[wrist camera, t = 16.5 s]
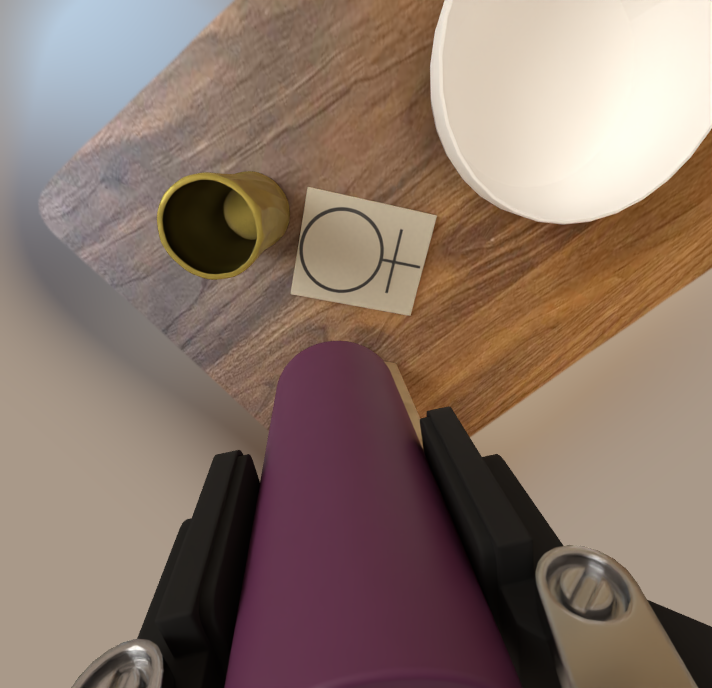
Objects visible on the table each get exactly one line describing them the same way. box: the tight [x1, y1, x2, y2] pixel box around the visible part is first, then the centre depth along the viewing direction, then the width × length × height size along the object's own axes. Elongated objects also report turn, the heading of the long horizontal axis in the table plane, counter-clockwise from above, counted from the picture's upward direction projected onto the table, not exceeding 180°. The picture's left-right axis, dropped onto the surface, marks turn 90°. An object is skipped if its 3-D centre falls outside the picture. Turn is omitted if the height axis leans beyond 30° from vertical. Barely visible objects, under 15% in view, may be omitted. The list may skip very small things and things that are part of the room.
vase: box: [157, 171, 290, 280], centre depth 27 cm, size 6×6×14 cm
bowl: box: [430, 0, 712, 224], centre depth 28 cm, size 19×19×9 cm
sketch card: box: [291, 187, 437, 316], centre depth 36 cm, size 11×9×1 cm
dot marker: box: [224, 341, 523, 688], centre depth 10 cm, size 4×4×11 cm
